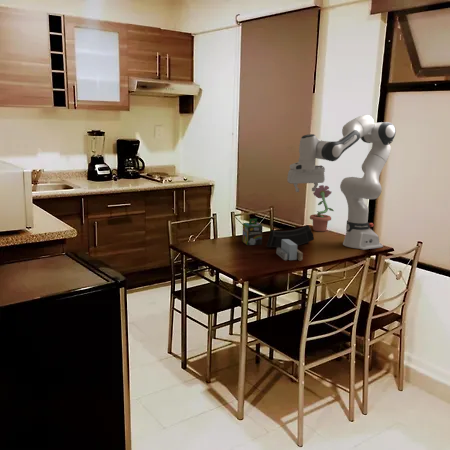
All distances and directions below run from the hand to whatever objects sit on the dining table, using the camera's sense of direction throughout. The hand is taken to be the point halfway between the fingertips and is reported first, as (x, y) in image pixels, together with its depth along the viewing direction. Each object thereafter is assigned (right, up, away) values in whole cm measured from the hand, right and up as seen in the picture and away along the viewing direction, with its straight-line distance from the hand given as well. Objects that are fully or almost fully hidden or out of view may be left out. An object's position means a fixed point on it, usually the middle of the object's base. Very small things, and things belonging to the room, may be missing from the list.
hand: (305, 191), depth 251 cm
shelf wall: (-6, -34, -4) cm, 35 cm away
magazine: (-6, -30, +16) cm, 35 cm away
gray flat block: (-13, -35, -6) cm, 38 cm away
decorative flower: (+19, -22, +55) cm, 62 cm away
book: (-10, -35, -5) cm, 36 cm away
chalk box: (-28, -29, +20) cm, 45 cm away
